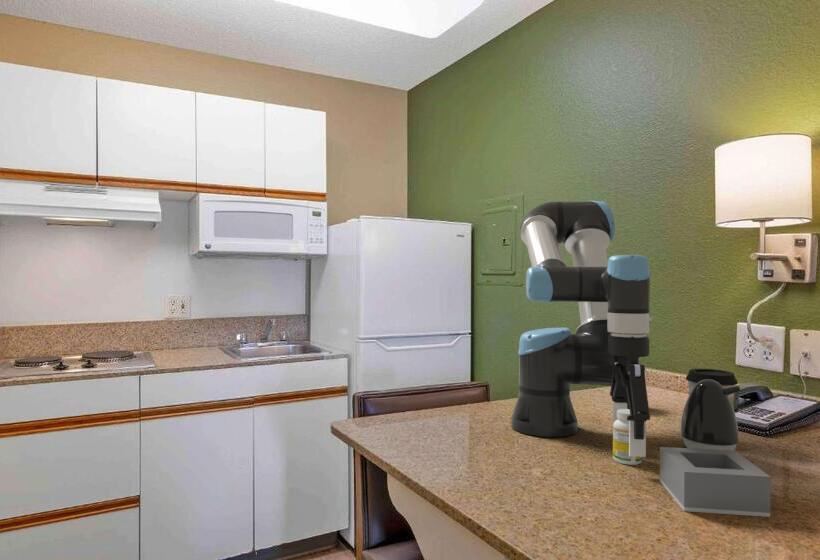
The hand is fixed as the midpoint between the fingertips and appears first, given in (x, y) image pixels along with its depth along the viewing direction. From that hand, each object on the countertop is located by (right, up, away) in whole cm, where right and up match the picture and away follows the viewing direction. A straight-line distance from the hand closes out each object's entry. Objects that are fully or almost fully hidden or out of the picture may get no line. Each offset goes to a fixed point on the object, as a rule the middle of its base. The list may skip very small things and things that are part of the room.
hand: (627, 444), depth 103 cm
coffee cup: (+23, -3, +13) cm, 27 cm away
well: (+6, -3, -17) cm, 18 cm away
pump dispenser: (+18, -3, +4) cm, 18 cm away
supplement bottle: (0, -3, 0) cm, 3 cm away
